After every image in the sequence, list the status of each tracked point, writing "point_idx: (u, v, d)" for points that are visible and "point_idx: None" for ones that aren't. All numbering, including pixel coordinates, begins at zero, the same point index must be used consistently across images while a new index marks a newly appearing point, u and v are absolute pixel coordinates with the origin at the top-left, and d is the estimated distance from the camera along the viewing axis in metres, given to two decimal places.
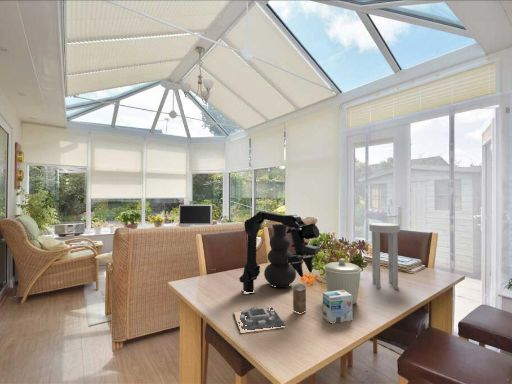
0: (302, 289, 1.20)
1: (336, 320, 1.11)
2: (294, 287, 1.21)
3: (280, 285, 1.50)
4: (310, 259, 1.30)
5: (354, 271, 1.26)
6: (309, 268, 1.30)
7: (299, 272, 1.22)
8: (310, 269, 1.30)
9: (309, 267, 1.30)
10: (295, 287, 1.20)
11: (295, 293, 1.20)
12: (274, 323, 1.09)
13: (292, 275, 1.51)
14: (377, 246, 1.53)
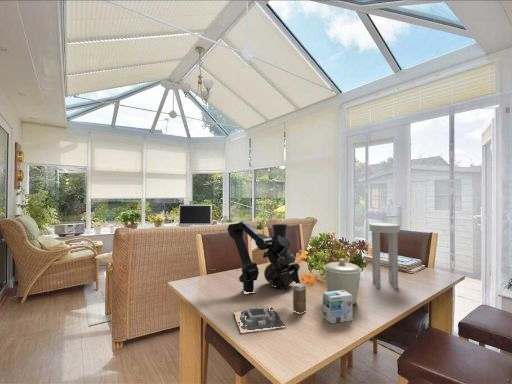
0: (302, 289, 1.20)
1: (336, 320, 1.11)
2: (294, 287, 1.21)
3: None
4: (294, 273, 1.29)
5: (354, 271, 1.26)
6: (297, 282, 1.27)
7: (283, 286, 1.21)
8: (298, 282, 1.27)
9: (297, 281, 1.28)
10: (295, 287, 1.20)
11: (295, 293, 1.20)
12: (274, 323, 1.09)
13: None
14: (377, 246, 1.53)
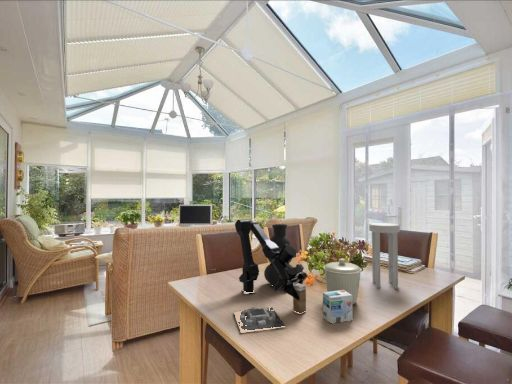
0: (302, 289, 1.20)
1: (336, 320, 1.11)
2: (294, 287, 1.21)
3: None
4: (299, 283, 1.24)
5: (354, 271, 1.26)
6: None
7: (294, 295, 1.19)
8: None
9: None
10: (295, 287, 1.20)
11: None
12: (274, 323, 1.09)
13: None
14: (377, 246, 1.53)
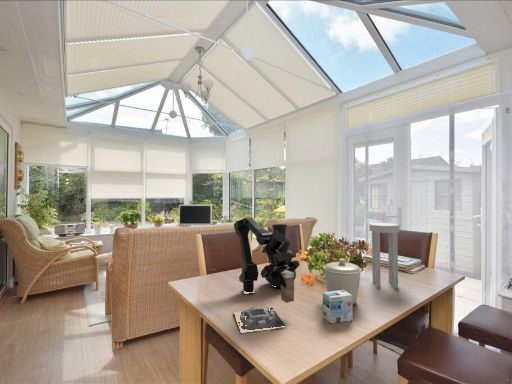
0: (289, 276, 1.16)
1: (336, 320, 1.11)
2: (282, 274, 1.17)
3: (280, 285, 1.50)
4: None
5: (354, 271, 1.26)
6: None
7: (281, 282, 1.16)
8: None
9: None
10: (282, 274, 1.17)
11: None
12: (274, 323, 1.09)
13: None
14: (377, 246, 1.53)
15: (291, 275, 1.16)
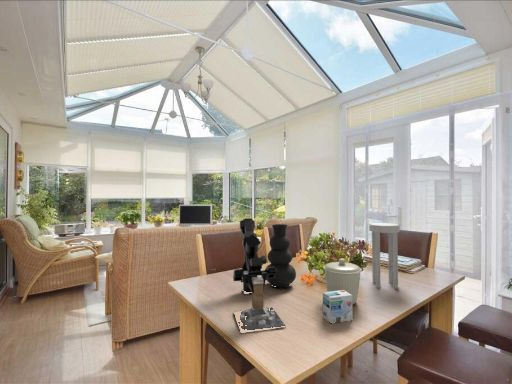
0: (257, 282, 1.12)
1: (336, 320, 1.11)
2: (252, 279, 1.14)
3: (280, 285, 1.50)
4: (262, 277, 1.16)
5: (354, 271, 1.26)
6: None
7: (250, 288, 1.13)
8: None
9: None
10: (252, 279, 1.14)
11: None
12: (274, 323, 1.09)
13: (292, 275, 1.51)
14: (377, 246, 1.53)
15: (259, 281, 1.12)
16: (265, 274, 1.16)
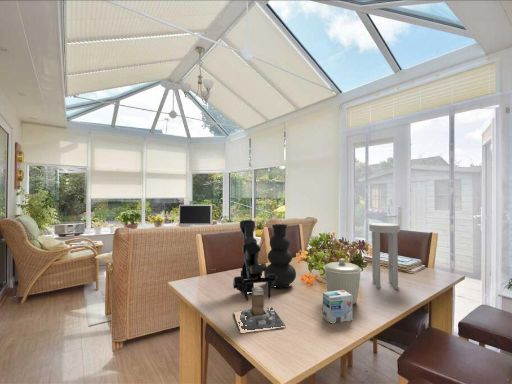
0: (257, 294, 1.12)
1: (336, 320, 1.11)
2: (252, 290, 1.14)
3: (280, 285, 1.50)
4: (267, 284, 1.17)
5: (354, 271, 1.26)
6: (267, 295, 1.15)
7: (244, 296, 1.13)
8: (268, 295, 1.14)
9: (267, 293, 1.15)
10: (252, 290, 1.14)
11: (252, 297, 1.14)
12: (274, 323, 1.09)
13: (292, 275, 1.51)
14: (377, 246, 1.53)
15: (260, 292, 1.12)
16: (271, 281, 1.16)
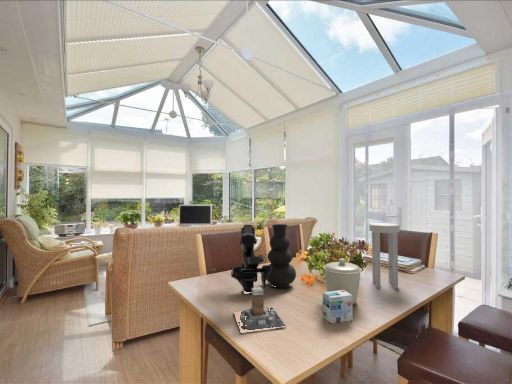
0: (257, 294, 1.12)
1: (336, 320, 1.11)
2: (252, 290, 1.14)
3: (280, 285, 1.50)
4: (263, 274, 1.26)
5: (354, 271, 1.26)
6: (263, 284, 1.24)
7: (242, 284, 1.22)
8: (263, 284, 1.24)
9: (263, 283, 1.24)
10: (252, 290, 1.14)
11: (252, 297, 1.14)
12: (274, 323, 1.09)
13: (292, 275, 1.51)
14: (377, 246, 1.53)
15: (260, 292, 1.12)
16: (266, 271, 1.26)
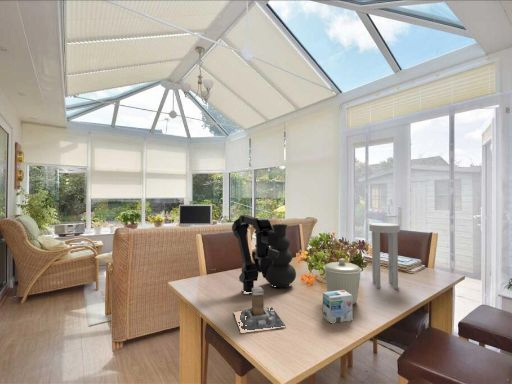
0: (257, 294, 1.12)
1: (336, 320, 1.11)
2: (252, 290, 1.14)
3: (280, 285, 1.50)
4: None
5: (354, 271, 1.26)
6: (259, 269, 1.38)
7: (264, 273, 1.28)
8: (260, 270, 1.38)
9: (259, 268, 1.38)
10: (252, 290, 1.14)
11: (252, 297, 1.14)
12: (274, 323, 1.09)
13: (292, 275, 1.51)
14: (377, 246, 1.53)
15: (260, 292, 1.12)
16: None
